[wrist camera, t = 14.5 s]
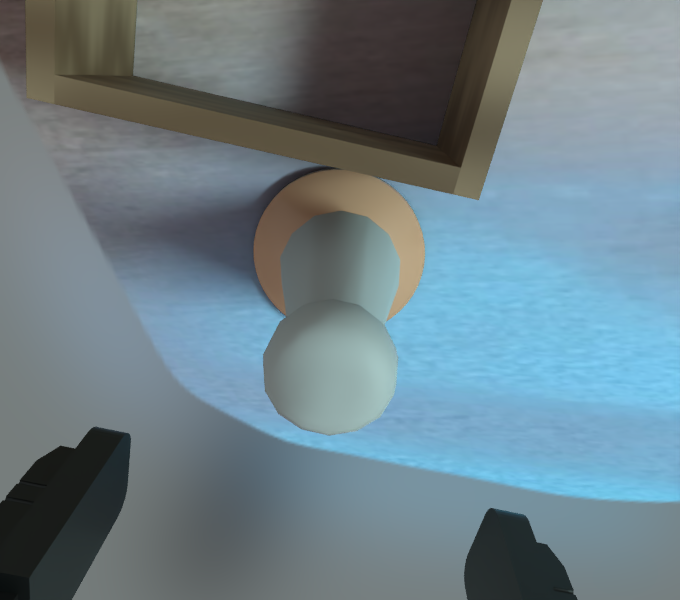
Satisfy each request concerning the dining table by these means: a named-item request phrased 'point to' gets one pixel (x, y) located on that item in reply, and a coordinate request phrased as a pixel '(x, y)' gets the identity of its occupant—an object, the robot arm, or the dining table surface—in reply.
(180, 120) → the walnut box
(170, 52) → the dining table surface
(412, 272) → the tan round coaster
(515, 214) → the dining table surface
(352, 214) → the salt shaker
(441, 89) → the dining table surface
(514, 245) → the dining table surface
